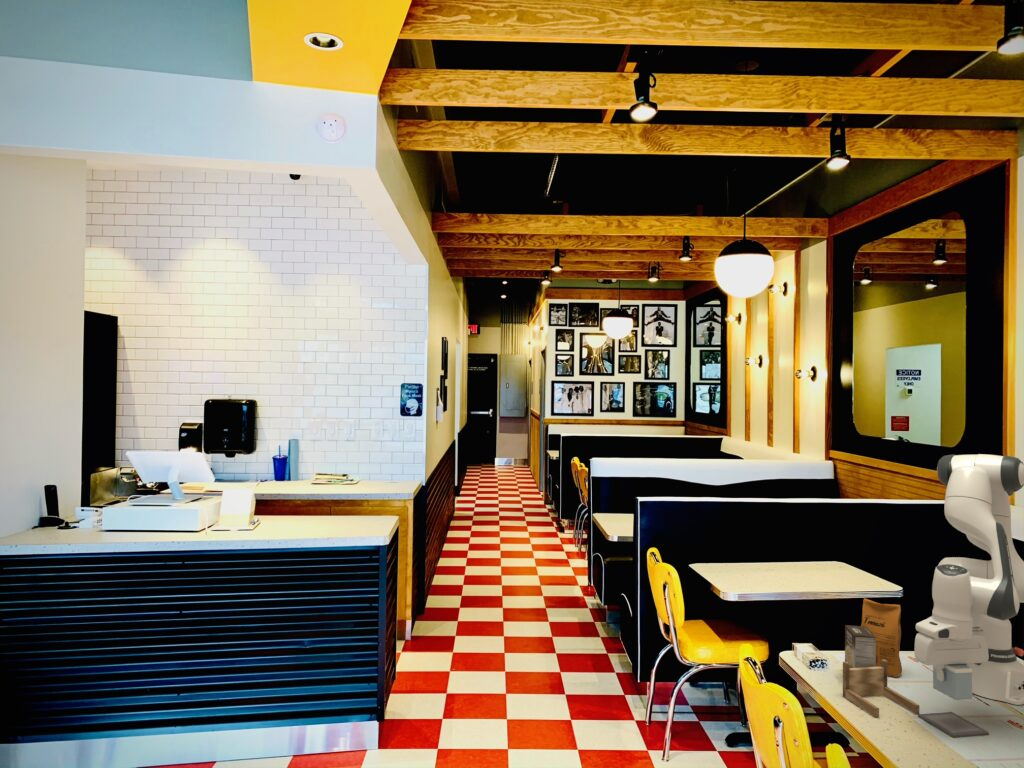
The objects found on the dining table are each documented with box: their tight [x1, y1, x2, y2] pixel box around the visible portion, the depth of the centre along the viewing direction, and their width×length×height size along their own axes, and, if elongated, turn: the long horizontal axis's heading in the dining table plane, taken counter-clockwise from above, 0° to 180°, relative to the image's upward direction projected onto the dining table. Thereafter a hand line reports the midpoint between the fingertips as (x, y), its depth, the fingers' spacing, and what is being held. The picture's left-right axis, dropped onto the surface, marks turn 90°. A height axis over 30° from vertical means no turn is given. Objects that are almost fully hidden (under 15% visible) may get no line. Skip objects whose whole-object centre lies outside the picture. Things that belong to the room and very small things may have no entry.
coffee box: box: [844, 624, 876, 668], centre depth 191 cm, size 9×6×16 cm
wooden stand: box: [842, 659, 920, 719], centre depth 176 cm, size 14×13×10 cm
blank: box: [932, 664, 973, 701], centre depth 166 cm, size 5×7×8 cm
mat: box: [917, 711, 990, 739], centre depth 165 cm, size 11×11×1 cm
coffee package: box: [860, 598, 903, 678], centre depth 201 cm, size 10×12×22 cm
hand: (951, 679), depth 166 cm, fingers closed on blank, 5 cm apart
